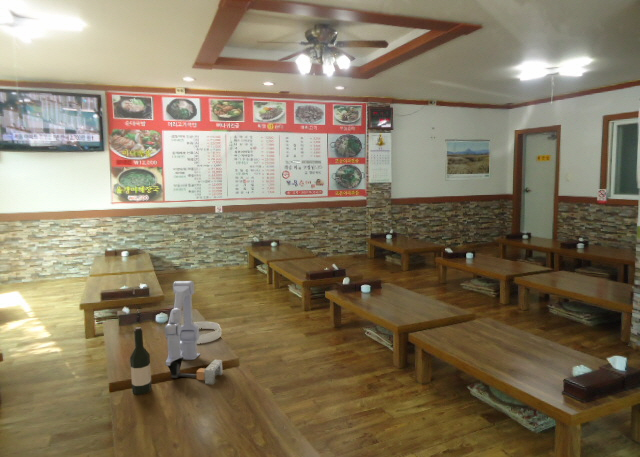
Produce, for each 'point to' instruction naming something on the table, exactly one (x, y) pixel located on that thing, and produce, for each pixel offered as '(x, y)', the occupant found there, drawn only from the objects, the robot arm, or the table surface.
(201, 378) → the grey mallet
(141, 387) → the wine bottle
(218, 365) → the grey stone bridge block
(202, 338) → the white ring
